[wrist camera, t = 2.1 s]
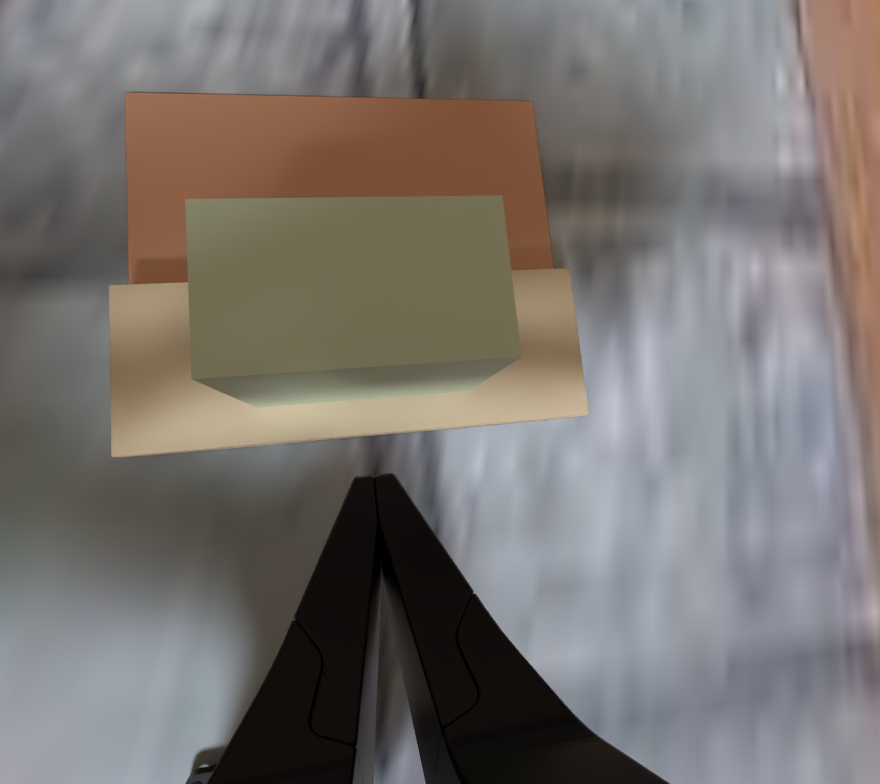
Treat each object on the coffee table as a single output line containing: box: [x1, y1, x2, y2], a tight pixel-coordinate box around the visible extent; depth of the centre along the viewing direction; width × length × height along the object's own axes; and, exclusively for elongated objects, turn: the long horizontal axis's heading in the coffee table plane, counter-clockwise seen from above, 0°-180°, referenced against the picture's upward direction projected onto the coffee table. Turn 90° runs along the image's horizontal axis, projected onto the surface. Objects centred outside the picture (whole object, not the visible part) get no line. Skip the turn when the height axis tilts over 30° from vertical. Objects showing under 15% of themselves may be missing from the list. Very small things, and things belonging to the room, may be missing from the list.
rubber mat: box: [125, 93, 554, 285], centre depth 24 cm, size 10×20×1 cm, turn 95°
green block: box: [185, 195, 521, 408], centre depth 17 cm, size 5×9×8 cm, turn 95°
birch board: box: [109, 268, 589, 457], centre depth 22 cm, size 7×20×2 cm, turn 95°
